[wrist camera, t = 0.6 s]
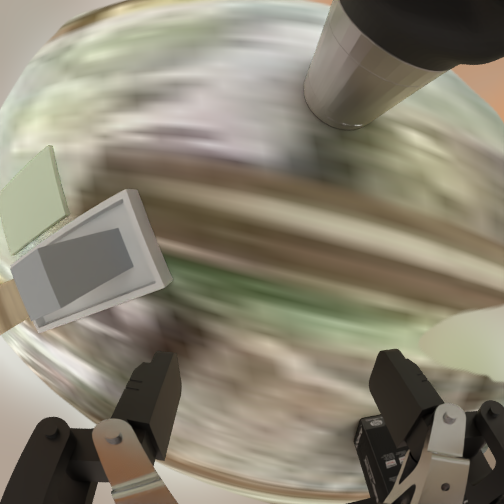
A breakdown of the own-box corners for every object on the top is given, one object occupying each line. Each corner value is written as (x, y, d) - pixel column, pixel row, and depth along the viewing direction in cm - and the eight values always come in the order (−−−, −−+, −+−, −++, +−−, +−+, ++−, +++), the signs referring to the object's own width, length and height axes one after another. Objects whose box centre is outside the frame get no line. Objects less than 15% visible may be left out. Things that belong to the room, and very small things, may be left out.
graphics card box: (349, 441, 36) (384, 570, 10) (357, 415, 35) (405, 559, 8) (431, 421, 35) (488, 519, 9) (442, 394, 34) (514, 496, 7)
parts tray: (49, 326, 34) (38, 333, 32) (22, 261, 33) (10, 265, 30) (173, 279, 32) (164, 287, 29) (137, 189, 30) (125, 188, 27)
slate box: (104, 279, 31) (31, 321, 17) (89, 243, 30) (10, 268, 17) (133, 266, 31) (61, 308, 17) (118, 227, 30) (37, 248, 16)
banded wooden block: (48, 304, 33) (-13, 341, 19) (36, 274, 32) (-30, 302, 18) (67, 296, 32) (0, 335, 18) (53, 263, 31) (-18, 291, 17)
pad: (14, 254, 33) (11, 255, 32) (0, 196, 31) (-4, 196, 30) (69, 214, 31) (65, 214, 30) (52, 145, 29) (48, 144, 28)
